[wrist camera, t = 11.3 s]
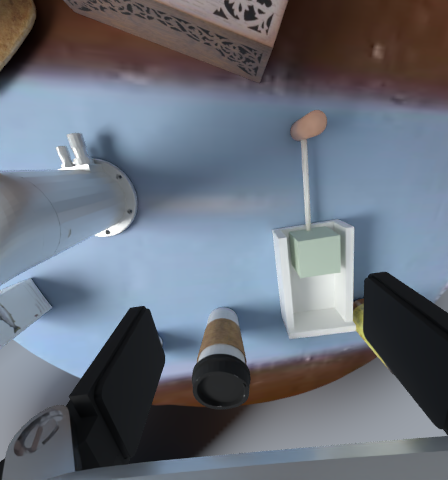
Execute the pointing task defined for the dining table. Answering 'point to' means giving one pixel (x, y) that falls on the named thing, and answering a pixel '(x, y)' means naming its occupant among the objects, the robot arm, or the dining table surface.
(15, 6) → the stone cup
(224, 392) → the coffee cup
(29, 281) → the supplement box
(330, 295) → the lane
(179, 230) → the dining table surface
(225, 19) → the tissue box cover
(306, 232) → the sliding handle
